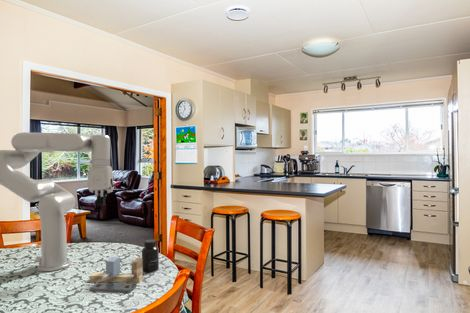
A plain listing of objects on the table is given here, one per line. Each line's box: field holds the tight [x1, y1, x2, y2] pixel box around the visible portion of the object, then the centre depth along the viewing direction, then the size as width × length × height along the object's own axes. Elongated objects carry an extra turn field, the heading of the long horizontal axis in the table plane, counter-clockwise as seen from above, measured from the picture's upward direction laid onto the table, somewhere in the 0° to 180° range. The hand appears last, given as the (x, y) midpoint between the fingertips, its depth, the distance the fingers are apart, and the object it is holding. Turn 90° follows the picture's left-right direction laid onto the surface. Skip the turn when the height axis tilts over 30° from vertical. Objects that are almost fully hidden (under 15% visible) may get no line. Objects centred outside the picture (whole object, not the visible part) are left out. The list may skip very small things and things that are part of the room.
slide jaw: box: [101, 256, 121, 280], centre depth 118 cm, size 3×10×6 cm, turn 172°
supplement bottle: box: [141, 239, 160, 273], centre depth 131 cm, size 7×7×12 cm
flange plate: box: [89, 282, 137, 294], centre depth 112 cm, size 15×5×1 cm, turn 82°
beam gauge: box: [88, 257, 144, 284], centre depth 118 cm, size 20×10×8 cm, turn 82°
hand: (101, 205), depth 137 cm, fingers closed
